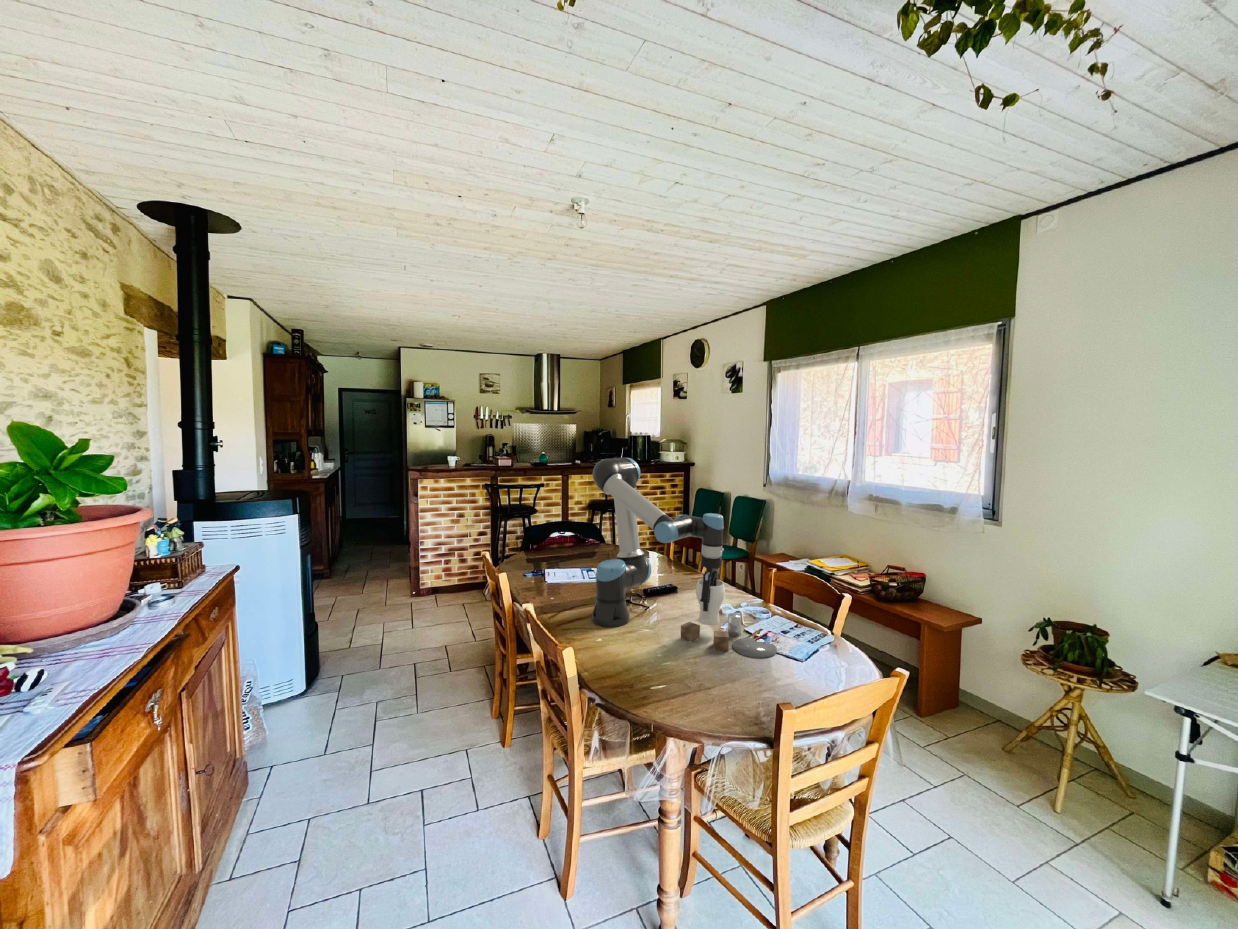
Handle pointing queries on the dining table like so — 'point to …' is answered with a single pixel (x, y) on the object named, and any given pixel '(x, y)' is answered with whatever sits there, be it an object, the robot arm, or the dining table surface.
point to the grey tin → (734, 624)
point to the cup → (711, 601)
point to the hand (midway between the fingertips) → (709, 613)
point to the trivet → (754, 648)
